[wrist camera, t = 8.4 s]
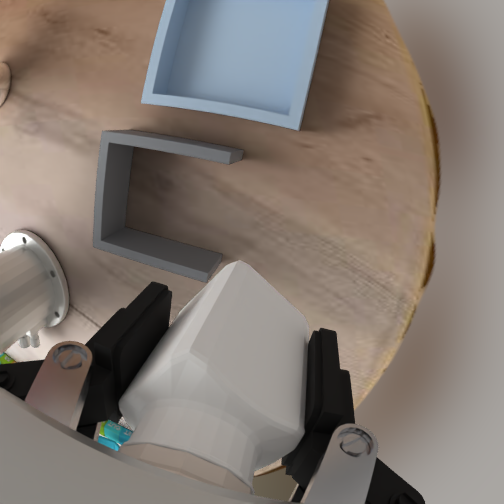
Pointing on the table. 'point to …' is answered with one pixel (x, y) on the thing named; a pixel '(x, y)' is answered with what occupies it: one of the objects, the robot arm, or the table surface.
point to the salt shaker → (222, 384)
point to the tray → (237, 58)
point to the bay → (116, 194)
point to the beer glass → (4, 81)
